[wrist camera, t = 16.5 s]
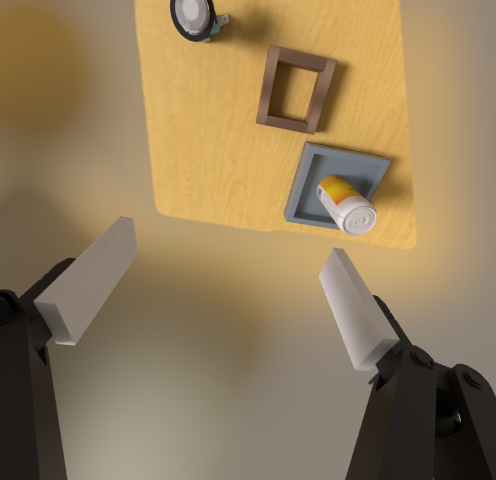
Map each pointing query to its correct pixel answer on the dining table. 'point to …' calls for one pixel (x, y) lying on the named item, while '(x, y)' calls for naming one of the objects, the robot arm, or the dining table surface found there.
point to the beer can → (346, 206)
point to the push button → (196, 19)
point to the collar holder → (321, 87)
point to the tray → (322, 166)
